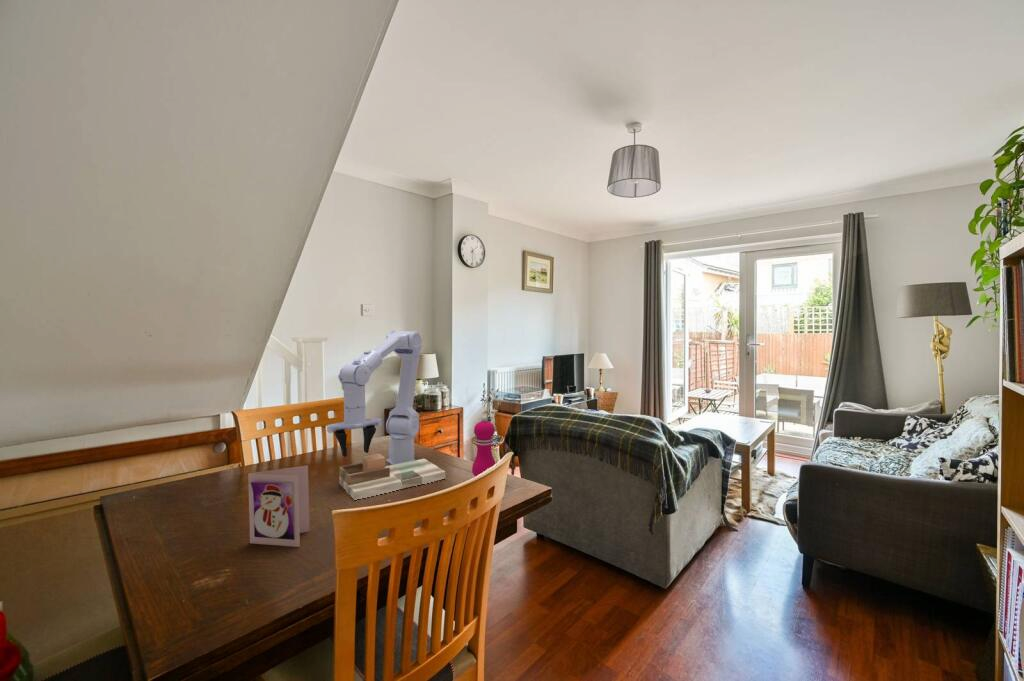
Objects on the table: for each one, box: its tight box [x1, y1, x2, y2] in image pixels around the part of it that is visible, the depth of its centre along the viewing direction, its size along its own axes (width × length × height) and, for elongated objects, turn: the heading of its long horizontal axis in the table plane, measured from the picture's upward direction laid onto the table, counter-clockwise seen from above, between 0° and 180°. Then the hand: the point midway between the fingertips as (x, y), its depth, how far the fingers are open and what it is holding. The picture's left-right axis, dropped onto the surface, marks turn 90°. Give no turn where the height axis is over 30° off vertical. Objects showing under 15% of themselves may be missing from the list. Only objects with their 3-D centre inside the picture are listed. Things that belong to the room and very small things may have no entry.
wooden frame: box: [338, 462, 390, 485], centre depth 124 cm, size 10×12×2 cm
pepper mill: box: [471, 415, 497, 477], centre depth 124 cm, size 7×7×20 cm
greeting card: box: [247, 465, 310, 548], centre depth 93 cm, size 11×7×15 cm, turn 82°
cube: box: [362, 453, 386, 472], centre depth 126 cm, size 5×5×5 cm
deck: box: [338, 458, 446, 501], centre depth 127 cm, size 15×26×2 cm, turn 126°
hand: (355, 453), depth 123 cm, fingers open, 5 cm apart
